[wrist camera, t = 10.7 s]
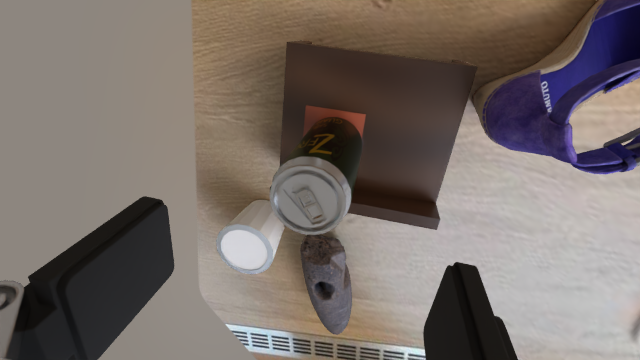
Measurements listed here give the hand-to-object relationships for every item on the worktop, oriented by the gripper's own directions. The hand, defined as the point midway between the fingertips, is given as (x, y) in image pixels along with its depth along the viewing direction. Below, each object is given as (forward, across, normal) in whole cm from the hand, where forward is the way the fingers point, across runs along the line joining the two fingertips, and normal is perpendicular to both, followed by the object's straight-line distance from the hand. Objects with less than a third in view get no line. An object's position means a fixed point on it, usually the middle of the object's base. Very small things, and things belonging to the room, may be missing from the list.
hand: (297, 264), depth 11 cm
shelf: (+26, -1, +2) cm, 26 cm away
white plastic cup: (+26, +10, +17) cm, 33 cm away
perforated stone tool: (+26, 0, +23) cm, 35 cm away
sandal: (+27, -18, -7) cm, 33 cm away
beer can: (+21, +2, +3) cm, 22 cm away
